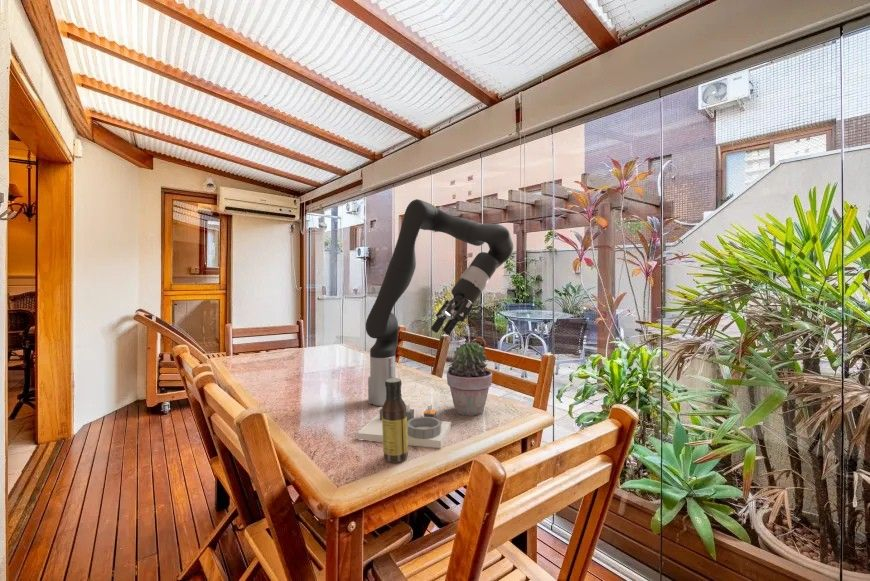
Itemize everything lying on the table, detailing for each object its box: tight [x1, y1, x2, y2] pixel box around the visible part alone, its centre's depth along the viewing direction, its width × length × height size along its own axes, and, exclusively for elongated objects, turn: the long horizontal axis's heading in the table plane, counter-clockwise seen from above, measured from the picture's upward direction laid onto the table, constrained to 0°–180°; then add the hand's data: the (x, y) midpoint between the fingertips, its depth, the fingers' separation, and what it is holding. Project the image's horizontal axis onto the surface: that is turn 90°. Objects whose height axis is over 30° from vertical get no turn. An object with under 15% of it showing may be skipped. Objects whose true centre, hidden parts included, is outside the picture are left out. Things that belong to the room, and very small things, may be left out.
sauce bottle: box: [381, 377, 409, 464], centre depth 95 cm, size 6×6×20 cm
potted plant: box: [445, 335, 493, 416], centre depth 129 cm, size 18×20×25 cm
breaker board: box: [356, 403, 452, 449], centre depth 110 cm, size 24×14×7 cm, turn 77°
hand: (439, 332), depth 104 cm, fingers open, 8 cm apart
